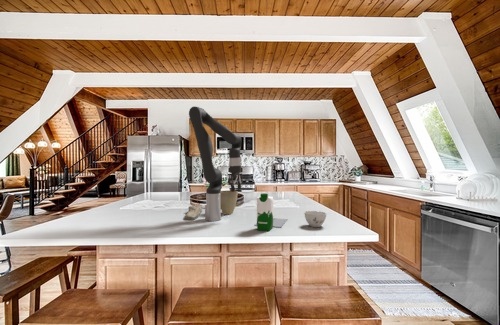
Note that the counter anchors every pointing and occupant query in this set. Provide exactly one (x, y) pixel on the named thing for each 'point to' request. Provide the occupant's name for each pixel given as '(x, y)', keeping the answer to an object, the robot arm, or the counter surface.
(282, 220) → the slate mat
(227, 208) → the plant pot
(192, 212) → the elongated rock
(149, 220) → the counter surface
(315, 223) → the teacup
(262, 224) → the milk carton
